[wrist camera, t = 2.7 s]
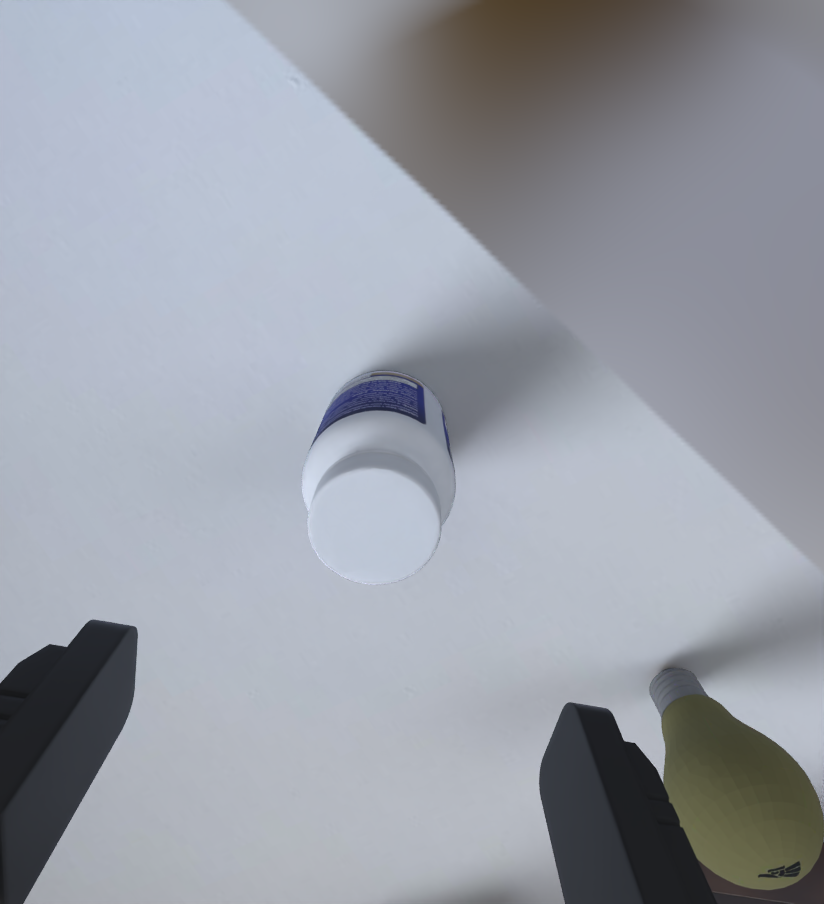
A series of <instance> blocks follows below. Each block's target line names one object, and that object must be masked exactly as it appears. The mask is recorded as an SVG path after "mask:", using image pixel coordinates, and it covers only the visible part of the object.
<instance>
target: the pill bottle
mask: <svg viewBox="0 0 824 904" xmlns="http://www.w3.org/2000/svg"><path fill="white" fill-rule="evenodd" d="M455 488H456V482H455V470H454V465H453V461H452V455H451V450H450V444H449V438H448V431H447V424H446V420H445V416H444V413H443V410H442V408H441V406H440V404H439V402H438V400H437V398H436V397H435V395H434V394H433V393H432V392H431V391H430V389H428V388H427V387H426V386H425V385H424V384H423V383H421V382H420V381H418V380H417V379H415V378H413V377H411V376H408V375H406V374H403V373H399V372H394V371H375V372H370V373H366V374H363V375H361V376H358V377H356V378H354V379H353V380H351V381H349V382H348V383H346V384H345V385H344V386H343V387H342V388H341V389H340V390H339V391H338V392H337V393H336V395H335V396H334V397H333V399H332V401H331V402H330V404H329V406H328V408H327V410H326V413H325V415H324V417H323V420H322V422H321V424H320V427H319V429H318V431H317V434H316V436H315V438H314V441H313V443H312V445H311V448H310V450H309V452H308V455H307V458H306V461H305V464H304V468H303V473H302V492H303V498H304V501H305V505H306V508H307V510H308V512H309V513H308V521H307V526H308V535H309V538H310V541H311V544H312V547H313V549H314V551H315V552H316V554H317V555H318V557H319V558H320V559H321V561H322V562H323V563H324V564H325V565H326V566H327V567H328V568H329V569H331V570H332V571H333V572H335V573H337V574H338V575H340V576H342V577H344V578H346V579H348V580H351V581H354V582H358V583H363V584H370V585H373V584H374V585H380V584H389V583H394V582H397V581H400V580H403V579H405V578H407V577H409V576H411V575H413V574H414V573H416V572H417V571H419V570H420V569H421V568H422V567H423V566H424V565H425V564H426V563H427V562H428V561H429V560H430V558H431V557H432V555H433V554H434V552H435V550H436V548H437V546H438V543H439V540H440V535H441V527H442V525H443V524H444V522H445V521H446V519H447V517H448V515H449V513H450V511H451V508H452V505H453V502H454V497H455Z"/></svg>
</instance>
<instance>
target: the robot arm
mask: <svg viewBox="0 0 824 904" xmlns="http://www.w3.org/2000/svg"><path fill="white" fill-rule="evenodd" d="M137 639H138V633H137V628H136V627H134V626H129V625H123V624H117V623H111V622H105V621H99V620H90V621H89V622H87V623H86V624H85V626H84V627H83V628H82V629H81V630H80V632H79V633H78V634H77V635H76V637H75V638H74V639H73V640H72V642H71V643H70V644H69V645H68V647H63V646H57V645H51V644H49V645H47V646H46V647H44V648H43V649H41V650H39V651H38V652H36V653H34V654H33V655H31V656H29V657H28V658H26V659H25V660H23V661H21V662H20V663H18V664H17V665H16V666H15V668H14V669H13V670H12V671H11V672H10V673H9V674H8V675H7V677H6V678H5V679H4V680H3V681H2V682H1V683H0V904H23V903H24V901H25V899H26V898H27V896H28V894H29V892H30V891H31V889H32V887H33V885H34V884H35V882H36V880H37V878H38V877H39V875H40V873H41V871H42V870H43V868H44V866H45V864H46V862H47V861H48V859H49V857H50V855H51V854H52V852H53V850H54V848H55V847H56V845H57V843H58V841H59V840H60V838H61V836H62V834H63V833H64V831H65V829H66V827H67V826H68V824H69V822H70V820H71V818H72V817H73V815H74V813H75V811H76V810H77V808H78V806H79V804H80V803H81V801H82V799H83V797H84V796H85V794H86V792H87V790H88V789H89V787H90V785H91V783H92V782H93V780H94V778H95V776H96V774H97V773H98V771H99V769H100V767H101V766H102V764H103V762H104V760H105V759H106V757H107V755H108V753H109V752H110V750H111V748H112V746H113V745H114V743H115V741H116V739H117V738H118V736H119V734H120V732H121V730H122V729H123V727H124V724H125V722H126V720H127V717H128V715H129V712H130V709H131V705H132V701H133V697H134V689H135V672H136V656H137ZM539 786H540V795H541V800H542V805H543V809H544V813H545V818H546V822H547V827H548V831H549V835H550V840H551V844H552V848H553V853H554V857H555V861H556V866H557V870H558V875H559V879H560V883H561V888H562V892H563V896H564V901H565V904H717V902H716V899H715V897H714V895H713V893H712V890H711V888H710V886H709V884H708V882H707V879H706V877H705V875H704V873H703V871H702V868H701V866H700V864H699V862H698V860H697V857H696V855H695V853H694V851H693V849H692V846H691V844H690V842H689V840H688V838H687V835H686V833H685V831H684V829H683V827H680V820H679V818H678V815H677V813H676V811H675V809H674V807H673V804H672V803H670V802H669V796H668V793H667V791H666V789H665V787H664V785H663V782H662V780H661V778H660V776H659V774H658V771H657V769H656V768H655V767H654V766H653V764H652V763H651V762H650V761H649V759H648V758H647V757H646V756H645V755H644V753H643V752H642V751H641V750H640V749H639V747H638V746H637V745H636V744H635V743H631V742H625V741H624V740H623V738H622V735H621V733H620V730H619V728H618V726H617V723H616V721H615V718H614V716H613V714H612V713H611V711H610V710H608V709H606V708H601V707H595V706H589V705H583V704H577V703H571V702H569V703H567V704H566V705H565V706H564V707H563V710H562V712H561V714H560V717H559V719H558V722H557V724H556V727H555V729H554V732H553V734H552V737H551V739H550V742H549V744H548V746H547V749H546V751H545V754H544V756H543V759H542V763H541V767H540V777H539Z"/></svg>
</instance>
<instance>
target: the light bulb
mask: <svg viewBox="0 0 824 904" xmlns="http://www.w3.org/2000/svg"><path fill="white" fill-rule="evenodd" d="M649 690H650V695H651V697H652V699H653V702H654V703H655V706H656V707H657V709H658V712H659V713H660V716H661V718H662V719H661V720H662V733H663V737H664V741H665V750H666V754H665V765H664V777H663V781H664V787H665V789H666V791H667V793H668V796H669V802H670V803H672V804H673V807H674V809H675V811H676V813H677V815H678V818H679V820H680V827H683V829H684V831H685V833H686V835H687V838H688V840H689V842H690V844H691V846H692V849H693V851H694V853H695V855H696V857H697V859H698V860H699V861H700V862H701V863H702V864H703V865H705V866H706V867H707V868H709V869H710V870H711V871H712V872H714V873H715V874H717V875H718V876H720V877H722V878H724V879H726V880H728V881H730V882H732V883H734V884H736V885H739V886H743V887H747V888H751V889H761V890H773V889H779V888H785V887H787V886H789V885H792V884H794V883H796V882H798V881H799V880H800V879H802V878H803V877H804V876H805V875H807V874H808V873H809V872H810V871H811V869H812V867H813V866H814V864H815V863H816V861H817V859H818V858H819V855H820V852H821V849H822V844H823V839H824V819H823V813H822V809H821V805H820V801H819V798H818V796H817V793H816V791H815V789H814V788H813V786H812V784H811V782H810V780H809V778H808V776H807V775H806V773H805V772H804V770H803V769H802V768H801V767H800V765H799V764H798V763H797V762H796V761H795V760H794V759H793V758H792V757H791V756H790V755H789V754H788V753H787V752H786V751H785V750H784V749H783V748H782V747H780V746H779V745H778V744H777V743H775V742H774V741H772V740H771V739H769V738H768V737H766V736H765V735H763V734H762V733H760V732H758V731H756V730H755V729H753V728H751V727H749V726H747V725H746V724H744V723H742V722H741V721H739V720H738V719H736V718H735V717H733V716H732V715H731V714H730V713H729V712H728V711H727V710H726V709H725V708H724V707H723V706H722V705H721V704H720V703H718V702H717V701H715V700H714V699H712V698H710V697H708V695H707V694H706V693H705V691H704V689H703V688H702V686H701V684H700V683H699V681H697V678H696V677H695V675H694V674H693V673H692V672H690V671H688V670H686V669H682V668H672V669H668V670H665V671H663V672H661V673H659V674H658V675H657V676H656V677H655V678H654V679H653V680H652V682H651V684H650V689H649Z"/></svg>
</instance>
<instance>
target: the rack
mask: <svg viewBox="0 0 824 904" xmlns="http://www.w3.org/2000/svg"><path fill="white" fill-rule="evenodd" d="M697 860H698V859H697ZM698 862H699V864H700V866H701V868H702V871H703V873H704V875H705V877H706V879H707V882H708V884H709V886H710V888H711V890H712V893H713V895H714V897H715V899H716V902H717V904H824V843H823V844H822V849H821V852H820V855H819V858H818V859H817V861H816V863H815V864H814V866H813V867H812V869H811V871H810V872H809V873H808V874H807V875H805V876H804V877H803V878H802V879H800V880H799V881H798V882H796V883H794V884H792V885H789V886H787V887H785V888H779V889H773V890H761V889H751V888H747V887H743V886H739V885H736V884H734V883H732V882H730V881H728V880H726V879H724V878H722V877H720V876H718V875H717V874H715V873H714V872H712V871H711V870H710V869H709V868H707V867H706V866H705V865H703V864H702V863H701V862H700V861H699V860H698Z"/></svg>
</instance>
